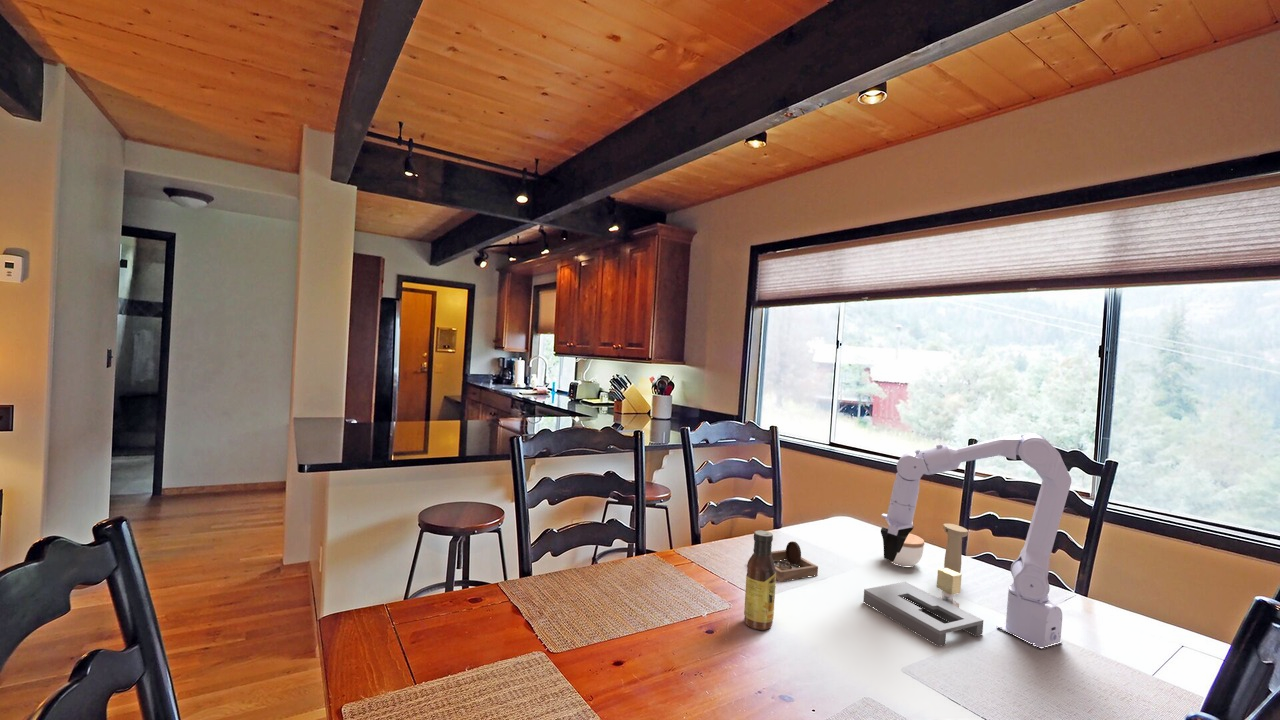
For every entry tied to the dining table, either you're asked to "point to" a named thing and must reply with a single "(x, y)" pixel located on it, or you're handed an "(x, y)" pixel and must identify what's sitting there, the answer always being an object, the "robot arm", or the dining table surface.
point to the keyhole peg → (949, 584)
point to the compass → (789, 557)
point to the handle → (954, 546)
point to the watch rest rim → (789, 574)
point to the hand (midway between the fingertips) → (891, 555)
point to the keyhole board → (912, 616)
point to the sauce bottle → (760, 583)
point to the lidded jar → (910, 551)
